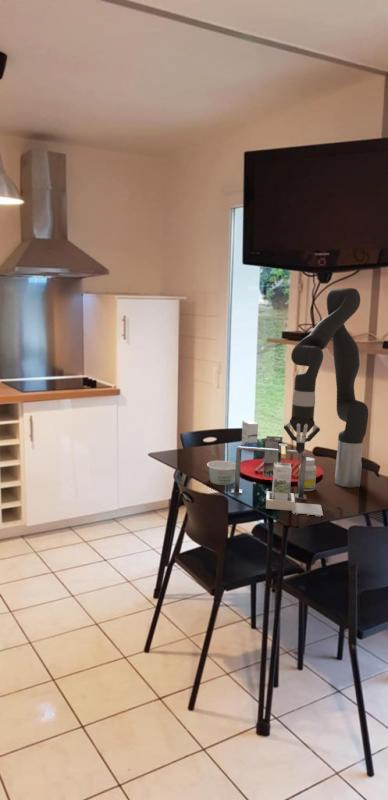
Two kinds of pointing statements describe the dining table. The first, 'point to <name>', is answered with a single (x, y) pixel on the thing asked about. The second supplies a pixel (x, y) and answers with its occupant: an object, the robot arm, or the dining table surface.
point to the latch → (283, 450)
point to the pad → (307, 509)
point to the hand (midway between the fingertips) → (299, 452)
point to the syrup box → (281, 481)
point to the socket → (280, 502)
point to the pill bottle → (309, 474)
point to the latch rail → (240, 448)
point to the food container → (221, 472)
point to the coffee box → (271, 455)
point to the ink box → (249, 433)
